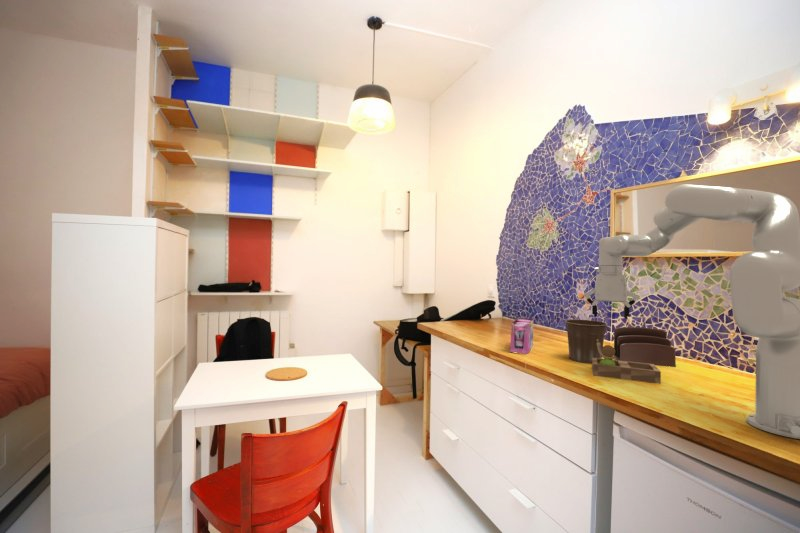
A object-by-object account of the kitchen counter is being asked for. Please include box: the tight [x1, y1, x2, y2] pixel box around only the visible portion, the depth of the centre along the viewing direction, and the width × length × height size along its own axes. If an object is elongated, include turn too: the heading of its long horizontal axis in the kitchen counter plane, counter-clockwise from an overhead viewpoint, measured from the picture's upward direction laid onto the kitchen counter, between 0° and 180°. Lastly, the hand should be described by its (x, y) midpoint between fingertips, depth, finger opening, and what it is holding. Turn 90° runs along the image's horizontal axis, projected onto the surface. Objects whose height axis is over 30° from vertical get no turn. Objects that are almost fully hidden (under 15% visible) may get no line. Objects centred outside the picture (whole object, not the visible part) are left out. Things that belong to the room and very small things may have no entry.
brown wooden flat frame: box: [591, 357, 662, 384], centre depth 134 cm, size 12×20×4 cm, turn 65°
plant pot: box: [564, 318, 608, 364], centre depth 156 cm, size 16×16×16 cm
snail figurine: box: [597, 339, 616, 366], centre depth 136 cm, size 5×6×12 cm
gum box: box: [509, 317, 534, 355], centre depth 175 cm, size 24×8×14 cm, turn 155°
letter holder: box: [613, 326, 677, 368], centre depth 155 cm, size 10×20×14 cm, turn 73°
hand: (610, 317), depth 136 cm, fingers open, 9 cm apart
